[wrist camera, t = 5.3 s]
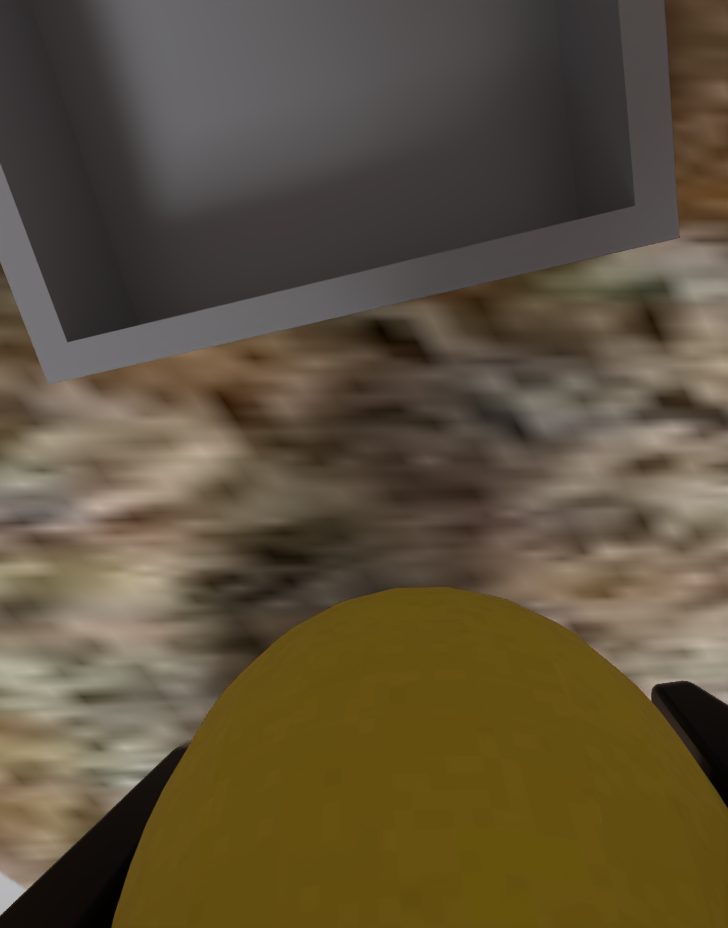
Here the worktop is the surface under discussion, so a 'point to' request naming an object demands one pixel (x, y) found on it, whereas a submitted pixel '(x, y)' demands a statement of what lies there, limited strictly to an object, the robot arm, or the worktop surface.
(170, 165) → the box
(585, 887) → the lemon
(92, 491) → the worktop surface
